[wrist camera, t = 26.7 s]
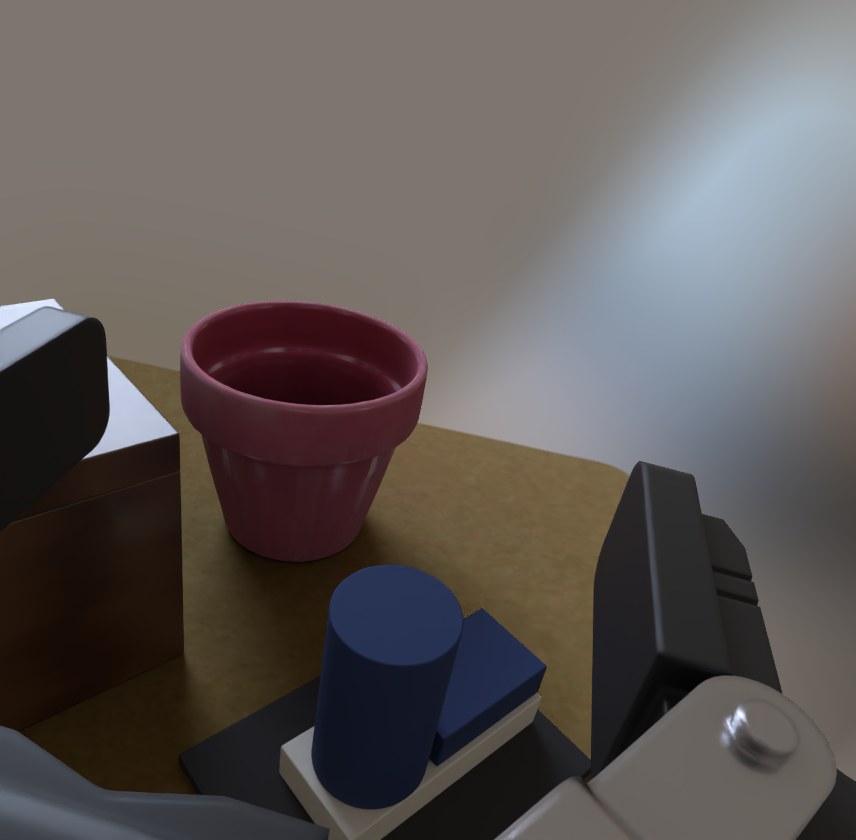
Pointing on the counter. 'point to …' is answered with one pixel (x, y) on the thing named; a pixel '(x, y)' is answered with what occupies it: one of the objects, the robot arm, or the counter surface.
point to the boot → (404, 701)
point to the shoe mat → (428, 827)
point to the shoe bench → (93, 564)
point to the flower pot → (299, 418)
